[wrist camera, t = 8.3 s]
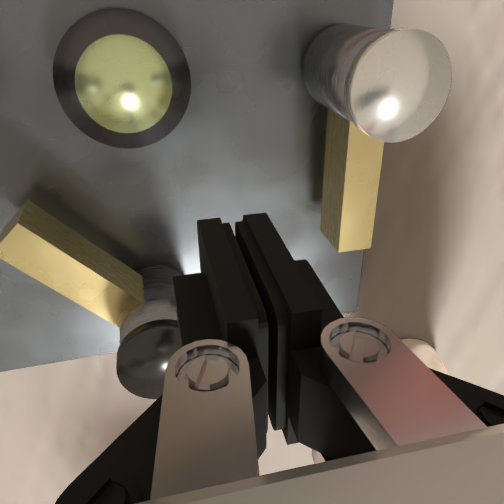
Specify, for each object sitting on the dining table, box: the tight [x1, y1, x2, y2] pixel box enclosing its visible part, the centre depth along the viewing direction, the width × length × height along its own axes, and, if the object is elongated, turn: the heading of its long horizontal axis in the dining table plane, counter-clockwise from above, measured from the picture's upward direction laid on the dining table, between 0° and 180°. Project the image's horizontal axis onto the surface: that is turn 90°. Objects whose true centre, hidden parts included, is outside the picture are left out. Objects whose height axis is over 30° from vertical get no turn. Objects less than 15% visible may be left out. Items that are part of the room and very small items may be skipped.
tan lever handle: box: [0, 200, 181, 399], centre depth 17 cm, size 8×3×5 cm, turn 43°
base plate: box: [0, 0, 393, 372], centre depth 18 cm, size 20×16×3 cm
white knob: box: [303, 24, 452, 253], centre depth 17 cm, size 8×3×5 cm, turn 1°
